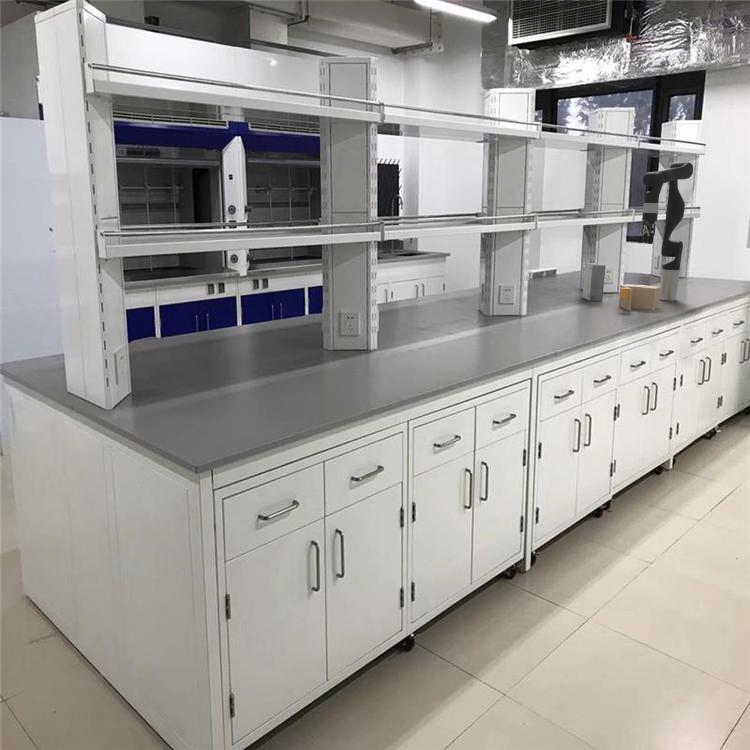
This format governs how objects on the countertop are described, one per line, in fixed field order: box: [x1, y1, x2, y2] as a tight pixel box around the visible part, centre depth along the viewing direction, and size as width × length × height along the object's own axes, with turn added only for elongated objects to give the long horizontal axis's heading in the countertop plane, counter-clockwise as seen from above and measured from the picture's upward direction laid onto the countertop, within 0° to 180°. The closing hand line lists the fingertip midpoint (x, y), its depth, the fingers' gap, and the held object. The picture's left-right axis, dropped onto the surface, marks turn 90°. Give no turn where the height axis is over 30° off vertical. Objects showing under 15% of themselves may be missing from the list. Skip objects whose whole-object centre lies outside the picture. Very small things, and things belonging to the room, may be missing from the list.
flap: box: [618, 284, 633, 312], centre depth 373 cm, size 5×16×11 cm, turn 179°
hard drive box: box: [582, 262, 607, 302], centre depth 405 cm, size 16×8×20 cm, turn 179°
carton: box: [623, 283, 661, 311], centre depth 380 cm, size 9×18×11 cm, turn 52°
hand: (647, 243), depth 379 cm, fingers open, 8 cm apart
